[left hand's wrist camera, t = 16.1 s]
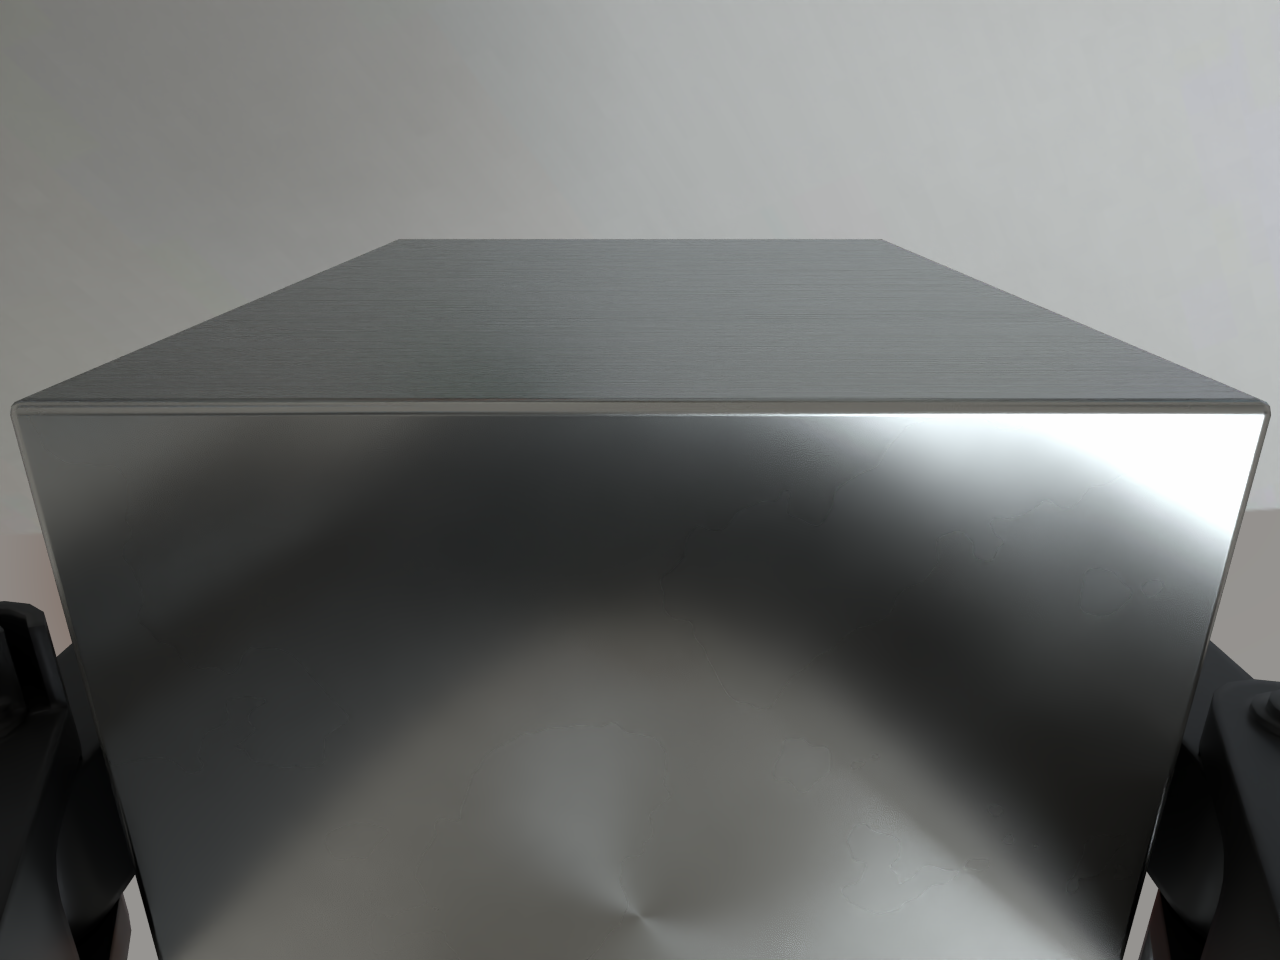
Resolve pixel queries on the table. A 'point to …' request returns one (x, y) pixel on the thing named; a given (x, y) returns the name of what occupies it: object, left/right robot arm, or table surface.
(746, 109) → the table surface
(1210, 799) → the left robot arm
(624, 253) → the block
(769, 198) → the table surface
